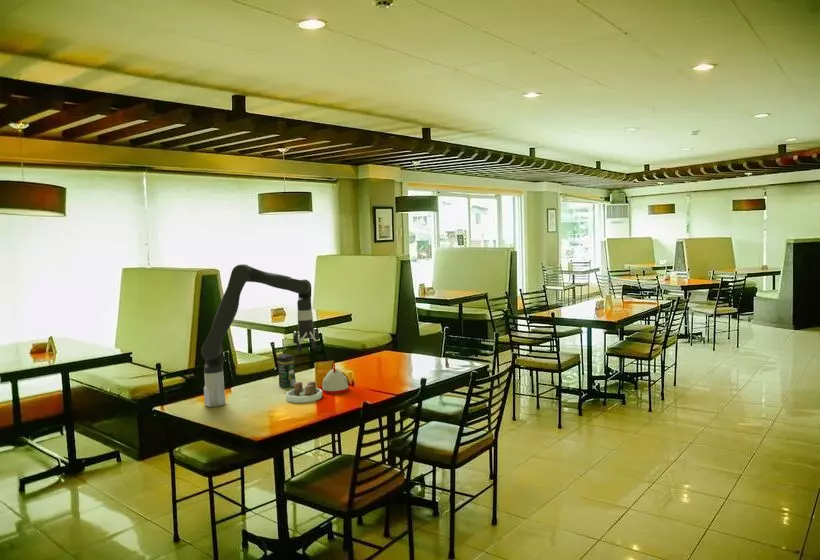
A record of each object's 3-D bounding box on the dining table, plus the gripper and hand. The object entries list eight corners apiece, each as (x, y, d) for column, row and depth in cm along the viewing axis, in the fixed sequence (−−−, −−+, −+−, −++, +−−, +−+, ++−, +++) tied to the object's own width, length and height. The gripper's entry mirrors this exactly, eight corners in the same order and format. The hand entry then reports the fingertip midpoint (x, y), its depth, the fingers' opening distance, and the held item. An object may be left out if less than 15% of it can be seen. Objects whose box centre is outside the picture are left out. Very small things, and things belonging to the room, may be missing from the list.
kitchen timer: (347, 386, 316) (346, 359, 315) (348, 392, 302) (347, 365, 301) (322, 388, 314) (321, 361, 313) (322, 395, 300) (321, 367, 299)
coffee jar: (276, 386, 322) (274, 354, 320) (288, 383, 328) (286, 352, 326) (287, 389, 315) (284, 356, 314) (298, 386, 321) (296, 353, 320)
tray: (299, 405, 283) (299, 399, 283) (279, 398, 296) (279, 393, 296) (329, 396, 296) (328, 391, 296) (308, 391, 309) (308, 385, 309)
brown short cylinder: (308, 399, 289) (308, 387, 289) (303, 397, 292) (303, 386, 292) (315, 397, 292) (315, 385, 292) (310, 395, 295) (310, 384, 295)
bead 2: (311, 395, 297) (310, 384, 296) (306, 394, 300) (305, 382, 299) (318, 393, 300) (317, 382, 299) (313, 392, 303) (312, 381, 302)
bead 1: (297, 396, 297) (296, 384, 296) (292, 394, 300) (292, 383, 299) (304, 394, 300) (303, 382, 299) (300, 392, 303) (299, 381, 302)
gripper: (297, 321, 282) (299, 353, 283) (320, 317, 292) (322, 348, 293) (289, 320, 287) (291, 351, 288) (312, 316, 297) (314, 346, 298)
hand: (307, 349), depth 291 cm, fingers open, 8 cm apart
